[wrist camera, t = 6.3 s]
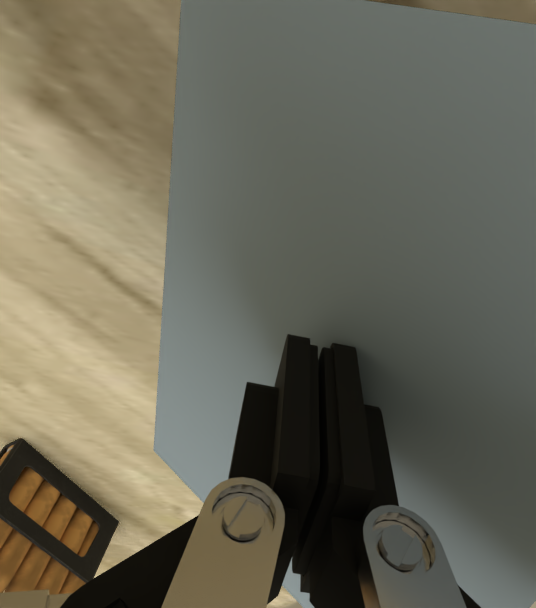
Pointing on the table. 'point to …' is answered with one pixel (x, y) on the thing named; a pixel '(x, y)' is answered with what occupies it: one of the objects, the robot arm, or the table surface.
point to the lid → (363, 251)
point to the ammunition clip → (47, 525)
